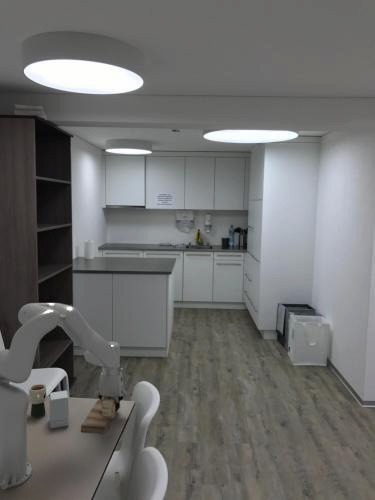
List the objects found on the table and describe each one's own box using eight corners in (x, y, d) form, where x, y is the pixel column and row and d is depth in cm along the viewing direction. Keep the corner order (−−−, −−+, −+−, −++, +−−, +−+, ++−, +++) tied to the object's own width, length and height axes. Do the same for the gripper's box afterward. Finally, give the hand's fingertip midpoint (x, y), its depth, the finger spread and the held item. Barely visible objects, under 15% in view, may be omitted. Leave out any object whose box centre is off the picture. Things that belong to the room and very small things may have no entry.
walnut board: (104, 433, 162) (104, 427, 162) (81, 431, 163) (81, 425, 163) (119, 404, 186) (119, 399, 186) (99, 403, 187) (99, 398, 186)
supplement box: (68, 425, 167) (68, 397, 166) (50, 428, 164) (50, 400, 163) (67, 417, 174) (67, 389, 172) (49, 420, 171) (49, 392, 170)
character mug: (47, 419, 171) (47, 391, 170) (29, 422, 168) (29, 393, 167) (45, 408, 181) (45, 381, 180) (29, 410, 178) (28, 383, 177)
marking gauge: (113, 418, 170) (113, 403, 169) (102, 418, 171) (102, 402, 170) (118, 408, 179) (119, 393, 178) (108, 407, 180) (108, 392, 179)
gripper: (131, 368, 176) (131, 406, 178) (95, 365, 177) (95, 404, 179) (127, 375, 168) (127, 415, 170) (89, 372, 170) (89, 412, 172)
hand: (110, 409), depth 175 cm, fingers closed on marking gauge, 5 cm apart
